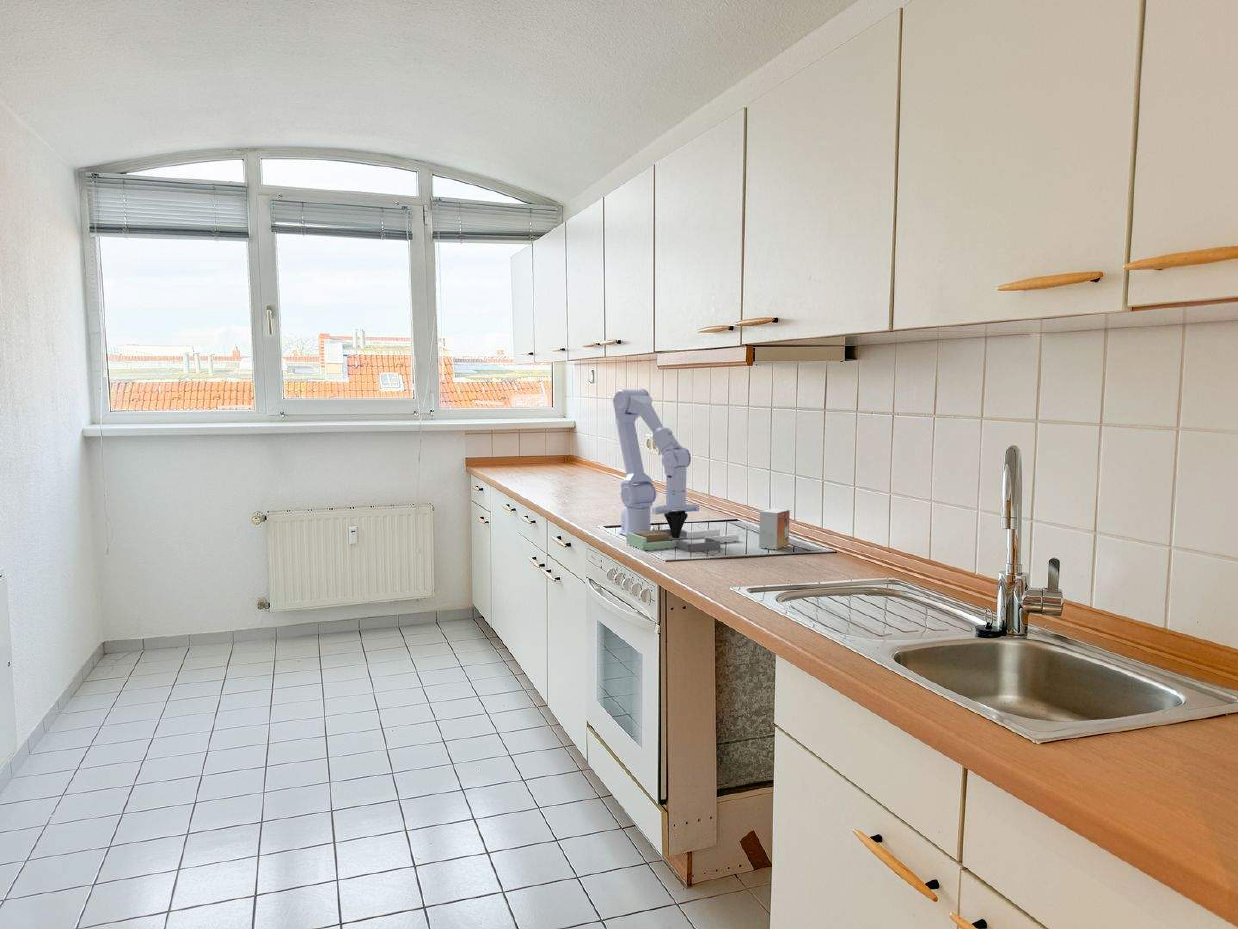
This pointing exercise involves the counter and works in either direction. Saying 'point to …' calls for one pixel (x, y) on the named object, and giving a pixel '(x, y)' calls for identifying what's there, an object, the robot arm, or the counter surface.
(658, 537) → the walnut block
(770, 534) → the small box
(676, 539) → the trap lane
